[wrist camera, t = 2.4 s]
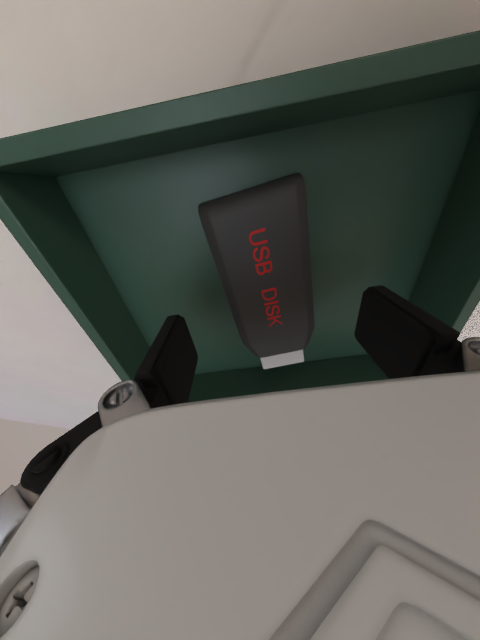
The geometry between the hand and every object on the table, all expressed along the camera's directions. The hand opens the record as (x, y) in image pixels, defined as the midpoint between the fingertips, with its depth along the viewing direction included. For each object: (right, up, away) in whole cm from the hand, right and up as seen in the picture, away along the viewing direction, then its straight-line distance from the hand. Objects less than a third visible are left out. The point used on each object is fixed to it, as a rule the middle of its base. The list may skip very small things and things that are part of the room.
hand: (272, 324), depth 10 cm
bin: (0, +3, +4) cm, 5 cm away
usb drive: (0, +3, +4) cm, 4 cm away
